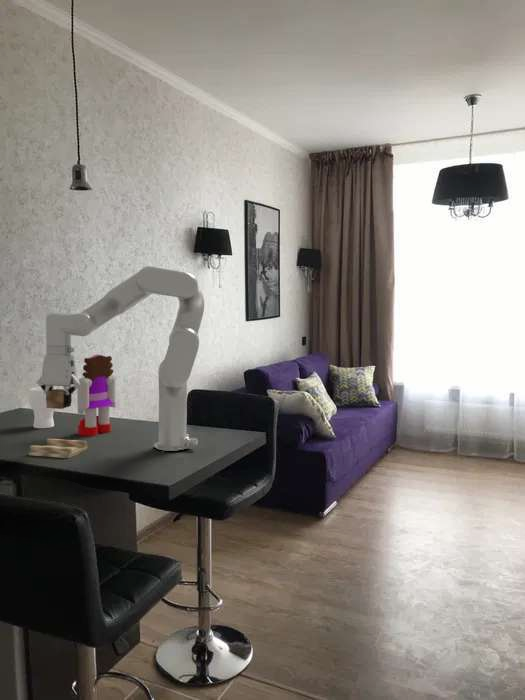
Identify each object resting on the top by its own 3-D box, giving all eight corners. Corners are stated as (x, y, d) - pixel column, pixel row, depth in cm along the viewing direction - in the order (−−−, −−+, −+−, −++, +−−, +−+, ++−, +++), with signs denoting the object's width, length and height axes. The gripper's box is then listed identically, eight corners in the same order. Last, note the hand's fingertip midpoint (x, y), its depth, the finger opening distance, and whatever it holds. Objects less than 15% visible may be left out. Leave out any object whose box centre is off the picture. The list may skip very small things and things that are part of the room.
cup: (28, 424, 227) (28, 387, 226) (56, 422, 231) (56, 386, 230) (30, 430, 217) (29, 391, 216) (59, 428, 222) (59, 390, 221)
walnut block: (70, 406, 188) (70, 389, 188) (62, 408, 183) (61, 392, 182) (55, 405, 189) (55, 388, 189) (46, 407, 184) (46, 391, 184)
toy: (104, 426, 226) (104, 351, 224) (120, 429, 222) (120, 353, 219) (68, 435, 211) (67, 355, 208) (84, 438, 206) (84, 356, 204)
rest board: (87, 448, 192) (87, 440, 192) (68, 458, 180) (68, 449, 180) (49, 446, 194) (49, 438, 194) (29, 455, 183) (28, 446, 182)
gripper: (88, 351, 187) (88, 405, 188) (41, 349, 190) (41, 402, 191) (76, 352, 179) (77, 409, 181) (27, 350, 183) (28, 406, 184)
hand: (58, 405), depth 186 cm, fingers closed on walnut block, 5 cm apart
